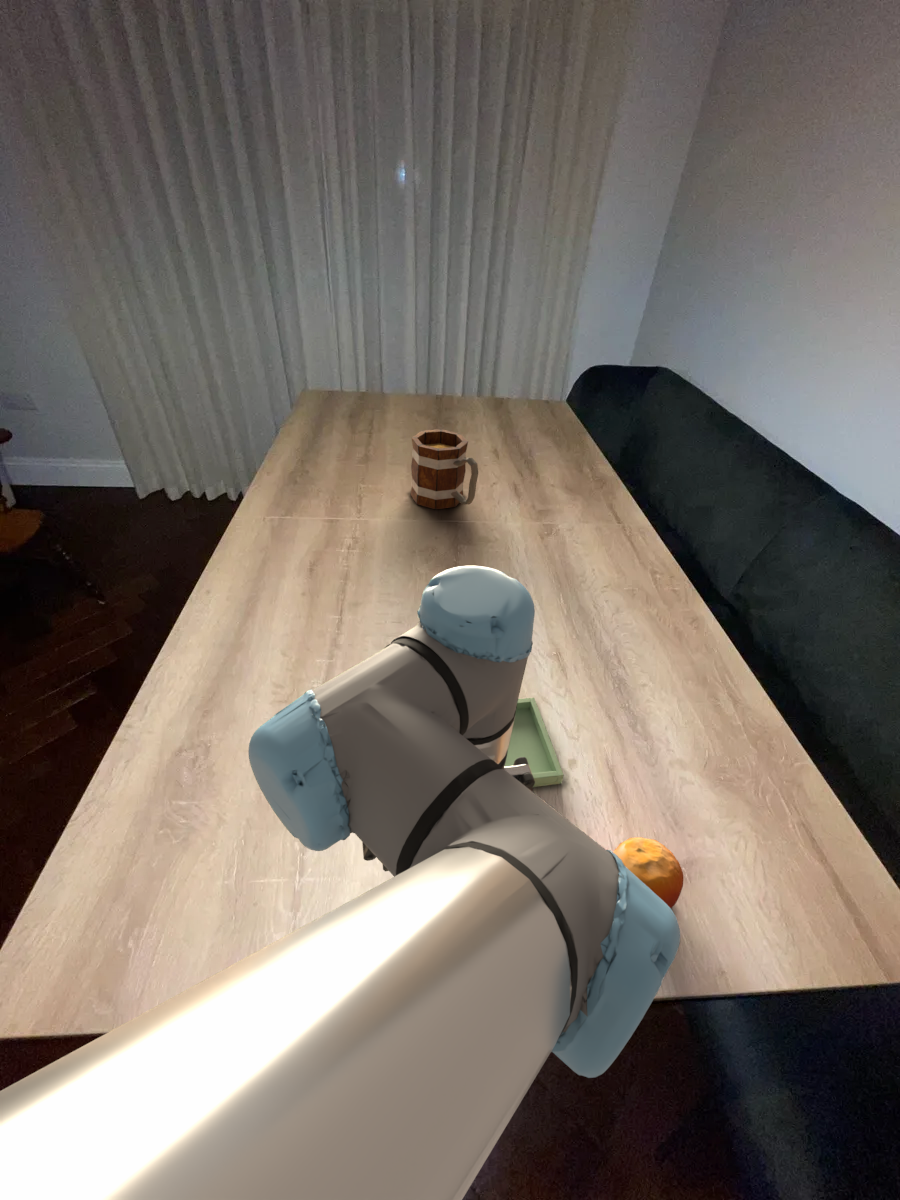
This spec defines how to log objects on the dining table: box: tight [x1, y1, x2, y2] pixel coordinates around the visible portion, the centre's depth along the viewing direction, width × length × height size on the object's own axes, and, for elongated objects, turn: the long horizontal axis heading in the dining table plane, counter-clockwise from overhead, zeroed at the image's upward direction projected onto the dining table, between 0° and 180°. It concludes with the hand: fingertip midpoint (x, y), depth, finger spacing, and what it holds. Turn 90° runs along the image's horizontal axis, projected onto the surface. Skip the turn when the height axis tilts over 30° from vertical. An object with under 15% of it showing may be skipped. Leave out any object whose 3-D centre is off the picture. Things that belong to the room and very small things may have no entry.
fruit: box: [612, 836, 684, 909], centre depth 59 cm, size 8×8×8 cm
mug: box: [410, 428, 479, 510], centre depth 128 cm, size 20×14×15 cm
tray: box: [505, 697, 564, 788], centre depth 75 cm, size 16×14×2 cm
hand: (447, 868), depth 57 cm, fingers open, 10 cm apart
